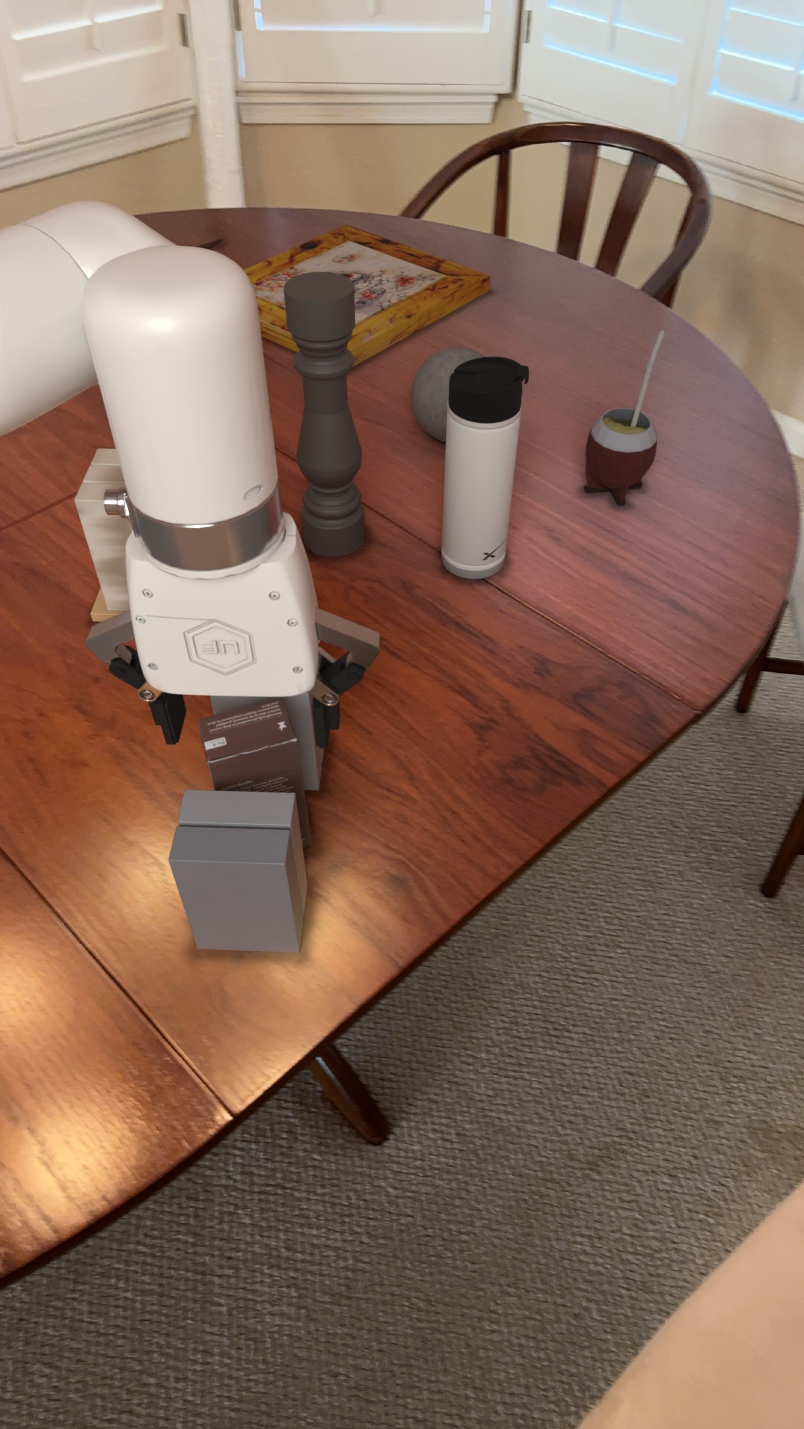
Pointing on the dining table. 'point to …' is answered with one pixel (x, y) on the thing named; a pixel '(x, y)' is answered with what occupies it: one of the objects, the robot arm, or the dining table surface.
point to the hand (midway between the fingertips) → (250, 730)
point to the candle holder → (326, 411)
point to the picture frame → (368, 287)
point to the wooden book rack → (105, 534)
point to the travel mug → (480, 464)
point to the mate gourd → (622, 445)
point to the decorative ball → (436, 388)
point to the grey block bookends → (246, 852)
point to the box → (256, 754)
